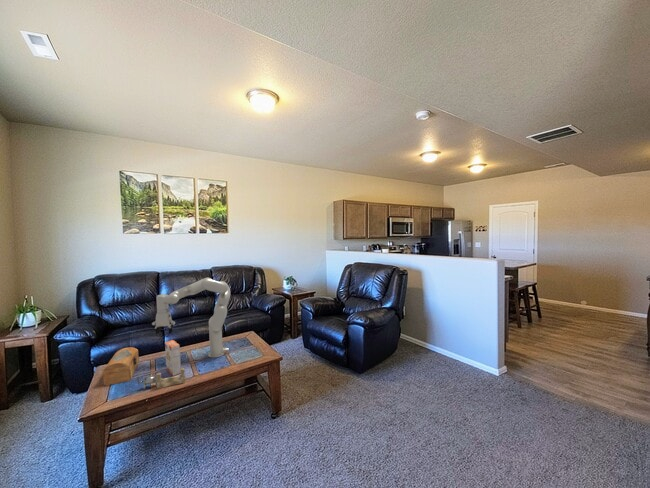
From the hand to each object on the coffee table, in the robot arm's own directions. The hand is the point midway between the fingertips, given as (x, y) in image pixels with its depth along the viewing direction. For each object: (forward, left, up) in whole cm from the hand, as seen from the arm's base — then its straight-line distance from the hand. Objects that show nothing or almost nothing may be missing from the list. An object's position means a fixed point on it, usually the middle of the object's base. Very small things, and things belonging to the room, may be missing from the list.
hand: (164, 333), depth 210 cm
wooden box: (+26, +1, -25) cm, 36 cm away
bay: (-6, +32, -24) cm, 40 cm away
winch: (+7, +32, -24) cm, 41 cm away
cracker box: (-6, +16, -24) cm, 30 cm away
